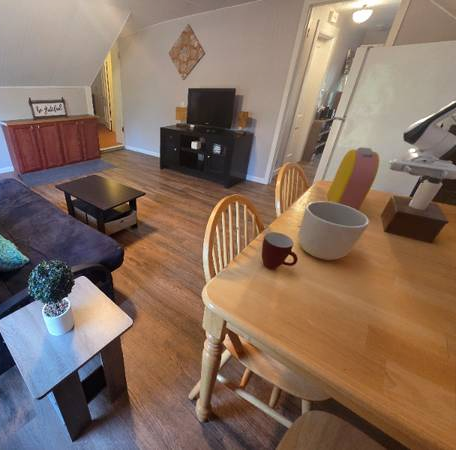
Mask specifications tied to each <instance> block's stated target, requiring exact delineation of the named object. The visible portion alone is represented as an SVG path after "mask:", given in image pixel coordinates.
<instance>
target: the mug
mask: <svg viewBox="0 0 456 450" xmlns="http://www.w3.org/2000/svg"><path fill="white" fill-rule="evenodd" d="M293 247H294V240H293V239H292V238H291V237H290V236H288V235H287V234H284V233H281V232H275V231H272V232H267V233H266V234H265V235H264V237H263V240H262V246H261V259H262V262H263V265H264V267H266V268H268V269H271V270H275V269H277V268H278V267H280V266H282V265H284V266H287V267H293V266H296V264H297V263H298V260H299V258H298V255H297V253H295V252H294V251H292V250H293ZM288 256H291V257H292V258H293V261H292V262H287V261H286V259H287V258H288Z"/></svg>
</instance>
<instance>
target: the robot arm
mask: <svg viewBox="0 0 456 450" xmlns="http://www.w3.org/2000/svg"><path fill="white" fill-rule="evenodd" d="M454 114H456V99H454V100H452V101H450V102H449V103H447V104H446V105H444V106H442V107H441V108H439V109H437V110H436V111H434V112H433V113H431V114H429V115H427V116H426V117H423V118H421V119H420V120H418V121H416V122H414V123H412V124H411V125H409V126H408V127H407V128H406V129H405V130H404V131H403V136H402V137H403V141H404V142H405V143H407V144H409V145H411V146H414V147H415V148H414V147H413V148H410V149H407V150H406V151H405V152H404V153H403V154H402V156H401V158H394V159H393V160H389V162H388V163H389V164H390V166H389V169H390V171H395V172H402V173H406V174H409V175H411V176H415V177H420V176H427V177H430V176H431V175H434V176H439V177H442V178H443V179H442V180H445V179H447V180H448V179H449V180H456V165H455V164H453V161H452V160H448V159H446V158H448V157H449V156H451V155H452V154H453V153H455V151H456V135H455V134H453V133H451V132H450V131H448V130H446V129H444V128H442V127H441V126H440V125H438V124H439V123H440V122H442V121H444V120H446V119H447V118H449V117H451V116H452V115H454Z"/></svg>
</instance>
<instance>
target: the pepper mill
mask: <svg viewBox="0 0 456 450" xmlns="http://www.w3.org/2000/svg"><path fill="white" fill-rule="evenodd" d="M443 180H444V179H443V178H442V177H439V176H434V175H431V176H428V179H424V180H423V182H422V183H421V185H420V186H419V188H418V190H417V191H416V192H415V194H414V196H413V198H411V199H412V201H411V202H410V204H409V206H411V207H413V208H415V209H420V210H425V209H426V208H427V207H428V205H429V204H430V203H432V201H433V199H434V198H435V196H436V195H437V194H438V192H439V190H440V189H441V187H442V186H443V183H442V181H443Z"/></svg>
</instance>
